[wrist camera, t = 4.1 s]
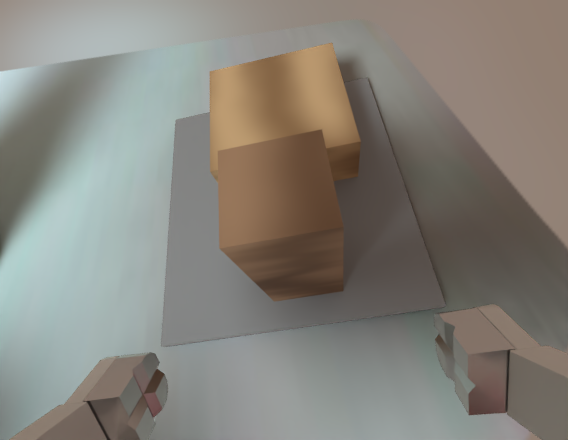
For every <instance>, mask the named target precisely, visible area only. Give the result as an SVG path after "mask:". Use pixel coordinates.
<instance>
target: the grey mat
mask: <svg viewBox="0 0 568 440" xmlns="http://www.w3.org/2000/svg"><path fill="white" fill-rule="evenodd" d="M344 85H345V89H346V92H347V96H348V99H349V103H350V106H351V109H352V113H353V116H354V120H355V123H356V127H357V130H358V133H359V137H360V140H361V145H360V158H359V171H358V177H353V178H347V179H342V180H337V181H334V186H335V190H336V195H337V199H338V204H339V208H340V213H341V217H342V222H343V226H344V246H343V291H341V292H335V293H328V294H322V295H315V296H308V297H302V298H295V299H289V300H282V301H275V302H274V301H273V300H272V299H271V298H270V297H269V296H268V295H267V294H266V293H265V292H264V291H263V290H262V289H261V288H260V287H259V286H258V285H257V284H256V283H255V282H253V281H252V280H251V279H250V278H249V277H248V276H247V275H246V274H245V273H244V272H243V271H242V270H241V269H240V268H239V267H238V266H237V265H236V264H235V263H234V262H233V261H232V260H231V259H230V258H229V257H228V256H227V255H226V254H225V253H224V252H223V251H221V250H220V249H219V201H218V183H217V181H216V180H215V178H214V177H213V175H212V174H211V172H210V112H209V113H204V114H200V115H195V116H191V117H186V118H182V119H177V120H176V123H175V138H174V153H173V169H172V184H171V200H170V215H169V230H168V246H167V261H166V276H165V292H164V307H163V323H162V338H161V346H163V347H168V346H175V345H182V344H189V343H196V342H204V341H211V340H218V339H225V338H232V337H239V336H246V335H253V334H260V333H267V332H274V331H281V330H288V329H295V328H302V327H309V326H316V325H324V324H331V323H338V322H345V321H352V320H359V319H366V318H373V317H380V316H387V315H394V314H401V313H408V312H415V311H422V310H429V309H436V308H443V307H445V306H446V303H445V301H444V298H443V295H442V292H441V289H440V286H439V283H438V280H437V278H436V275H435V272H434V269H433V266H432V263H431V260H430V257H429V254H428V252H427V249H426V246H425V243H424V240H423V237H422V234H421V231H420V228H419V226H418V223H417V220H416V217H415V214H414V211H413V208H412V205H411V202H410V200H409V197H408V194H407V191H406V188H405V185H404V182H403V179H402V177H401V174H400V171H399V168H398V165H397V162H396V159H395V156H394V153H393V151H392V148H391V145H390V142H389V139H388V136H387V133H386V130H385V127H384V125H383V122H382V119H381V116H380V113H379V110H378V107H377V104H376V101H375V99H374V96H373V93H372V90H371V87H370V84H369V81H368V78H367V77H366V78H362V79H357V80H353V81H348V82H344Z"/></svg>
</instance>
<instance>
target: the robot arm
mask: <svg viewBox="0 0 568 440" xmlns="http://www.w3.org/2000/svg"><path fill="white" fill-rule="evenodd" d="M434 326H435V328H436V329H437V331H438V333H439V335H438V336H437V338H436V339H435V343H436V351H437V355H438V359H439V362H440V364H441V367H442V369H443V371H444V372H445V374H446V376H447V377H448V378H450V379H452V380H453V381H455V392H456V394H457V395H458V397H459V399H460V401H461V402H462V404H463V406H464V408H465V409H466V411H467V413H468V414H469V415H479V414H493V413H507V415H509V416H510V417H512V418H513V419H514V420H516V421H517V422H518V423H520V424H521V425H522V426H524V427H525V428H526V429H528V430H529V431H531V432H532V433H533V434H535V435H536V436H537V437H539V438H540V439H542V440H568V354H567V353H565V352H562V351H560V350H558V349H555V348H553V347H550V346H540V345H539V344H538V343H537V342H536V341H535V340H534V339H533V338H532V337H531V336H530V335H529V334H528V333H526V332H525V331H524V330H523V329H522V328H521V327H520V326H519V325H518V324H517V323H516V322H515V321H514V320H513V319H512V318H510V317H509V316H508V315H507V314H506V313H505V312H504V311H503V310H502V309H501V308H500V307H499V306H497V305H494V304H491V305H485V306H479V307H474V308H470V309H463V310H456V311H449V312H442V313H435V316H434ZM159 363H160V362H159V360H158V358H157V356H156V354H155V353H151V352H149V353H140V354H131V355H122V356H115V357H107V358H104V359H102V360H100V361H99V363H98V364H97V365H96V366H95V367H94V369H93V370H92V371H91V372H90V374H89V375H88V376H87V377H86V378H85V380H84V381H83V382H82V383H81V385H80V386H79V387H78V388H77V389H76V391H75V392H74V393H73V394H72V396H71V397H70V398H69V399H68V400H67V402H66V403H65V404H64V405H59V406H57V407H56V408H54V409H53V410H51V411H50V412H48V413H47V414H45V415H44V416H43V417H41V418H40V419H38V420H37V421H35V422H34V423H32V424H31V425H30V426H28V427H27V428H25V429H24V430H22V431H21V432H19V433H18V434H16V435H15V436H14V437H12V438H11V439H9V440H148V439H149V437H150V435H151V433H152V431H153V428H154V426H155V420H154V417H155V416H156V415H157V414H158V413H159V412H160V411H161V410H162V409H163V407H164V405H165V402H166V400H167V393H168V384H167V379H166V377H165V374H163V373H162V372H161V371H159V370H158V369H157V368H158V366H159Z"/></svg>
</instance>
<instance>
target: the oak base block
mask: <svg viewBox="0 0 568 440" xmlns="http://www.w3.org/2000/svg"><path fill="white" fill-rule="evenodd" d="M320 129H322V132H323V137H324V141H325V146H326V150H327V155H328V159H329V164H330V168H331V172H332V177H333V181H337V180H342V179H347V178H353V177H358V171H359V158H360V145H361V140H360V137H359V133H358V130H357V127H356V123H355V120H354V116H353V113H352V109H351V106H350V103H349V99H348V96H347V92H346V89H345V85H344V82H343V79H342V75H341V72H340V68H339V65H338V62H337V58H336V55H335V51H334V48H333V44H332V43H329V44H324V45H320V46H316V47H312V48H307V49H303V50H299V51H295V52H291V53H286V54H282V55H278V56H274V57H269V58H265V59H261V60H257V61H253V62H248V63H244V64H240V65H236V66H231V67H227V68H223V69H219V70H215V71H210V172H211V174H212V175H213V177H214V178H215V180H216V181H217V183H218V151H220V150H224V149H229V148H234V147H239V146H244V145H248V144H253V143H258V142H263V141H268V140H272V139H277V138H282V137H287V136H292V135H296V134H301V133H306V132H311V131H316V130H320Z"/></svg>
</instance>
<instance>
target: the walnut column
mask: <svg viewBox="0 0 568 440" xmlns="http://www.w3.org/2000/svg"><path fill="white" fill-rule="evenodd" d="M218 201H219V249H220V250H221V251H223V252H224V253H225V254H226V255H227V256H228V257H229V258H230V259H231V260H232V261H233V262H234V263H235V264H236V265H237V266H238V267H239V268H240V269H241V270H242V271H243V272H244V273H245V274H246V275H247V276H248V277H249V278H250V279H251V280H252V281H253V282H255V283H256V284H257V285H258V286H259V287H260V288H261V289H262V290H263V291H264V292H265V293H266V294H267V295H268V296H269V297H270V298H271V299H272V300H273V301H274V302H275V301H282V300H289V299H295V298H302V297H308V296H315V295H322V294H328V293H335V292H341V291H343V246H344V226H343V222H342V217H341V213H340V208H339V204H338V199H337V195H336V190H335V186H334V181H333V177H332V172H331V168H330V164H329V159H328V155H327V150H326V146H325V141H324V137H323V132H322V129H320V130H316V131H311V132H306V133H301V134H296V135H292V136H287V137H282V138H277V139H272V140H268V141H263V142H258V143H253V144H248V145H244V146H239V147H234V148H229V149H224V150H220V151H218Z"/></svg>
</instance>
